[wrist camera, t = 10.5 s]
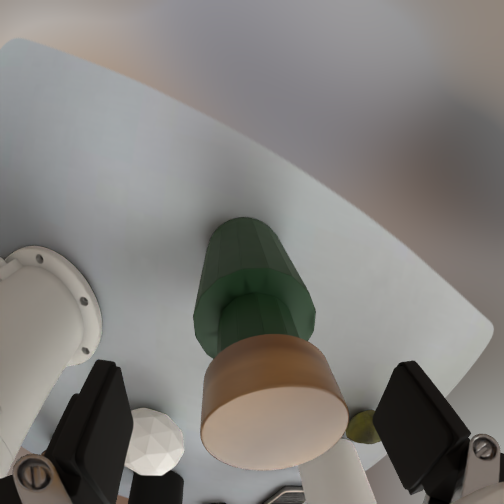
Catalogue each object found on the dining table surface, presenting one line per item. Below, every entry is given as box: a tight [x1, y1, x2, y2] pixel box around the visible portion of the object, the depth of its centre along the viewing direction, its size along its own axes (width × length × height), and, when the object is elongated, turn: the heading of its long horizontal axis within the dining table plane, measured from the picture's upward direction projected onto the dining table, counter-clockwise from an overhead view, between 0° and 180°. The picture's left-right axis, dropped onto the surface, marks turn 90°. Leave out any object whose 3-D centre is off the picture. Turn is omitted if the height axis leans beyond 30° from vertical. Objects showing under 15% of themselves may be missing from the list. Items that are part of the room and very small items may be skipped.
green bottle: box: [193, 217, 316, 359], centre depth 17 cm, size 6×6×14 cm
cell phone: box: [263, 486, 306, 504], centre depth 37 cm, size 6×11×1 cm, turn 156°
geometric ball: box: [124, 408, 185, 476], centre depth 25 cm, size 8×8×8 cm
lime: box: [346, 410, 381, 444], centre depth 29 cm, size 4×5×5 cm
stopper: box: [200, 334, 349, 471], centre depth 9 cm, size 4×4×4 cm
